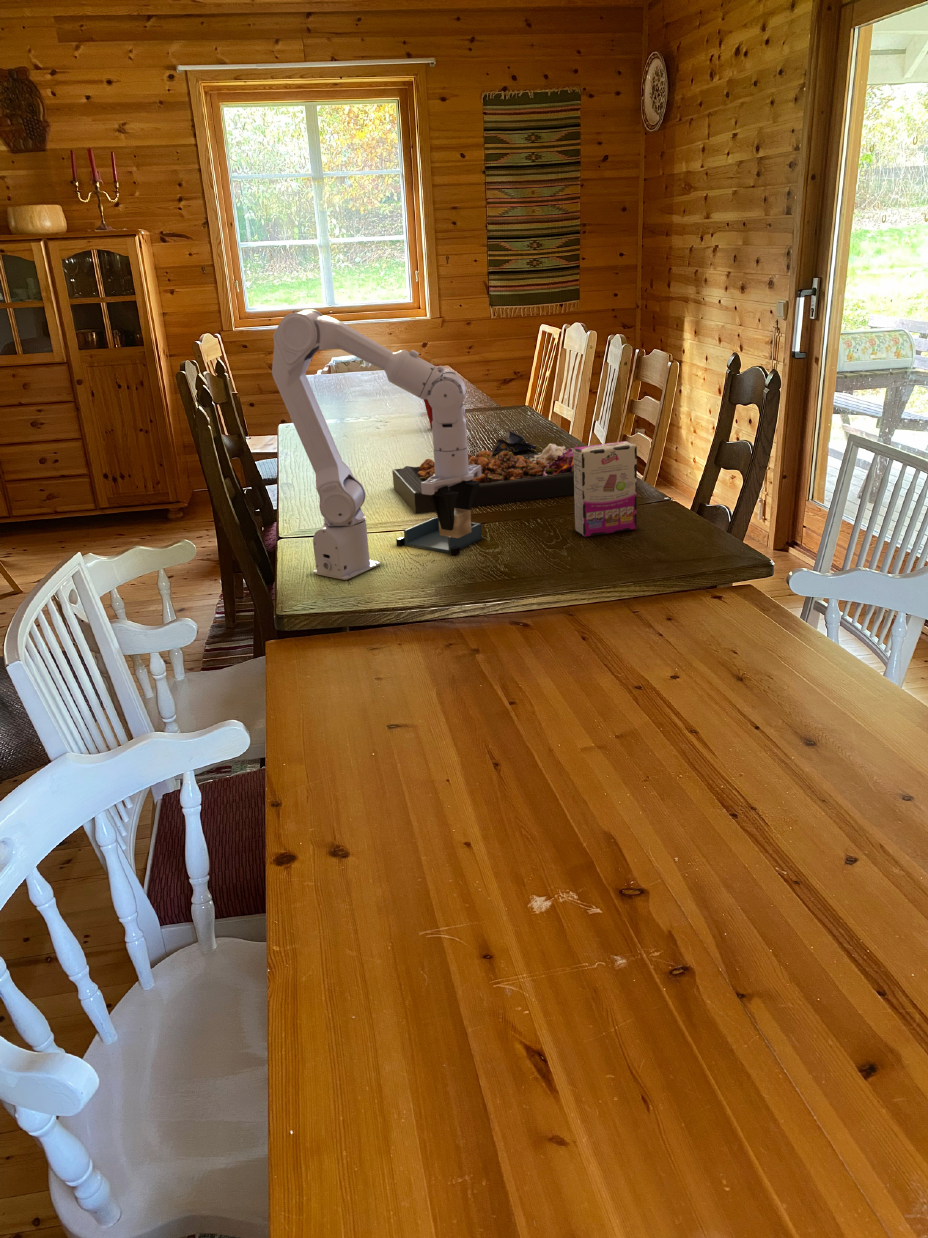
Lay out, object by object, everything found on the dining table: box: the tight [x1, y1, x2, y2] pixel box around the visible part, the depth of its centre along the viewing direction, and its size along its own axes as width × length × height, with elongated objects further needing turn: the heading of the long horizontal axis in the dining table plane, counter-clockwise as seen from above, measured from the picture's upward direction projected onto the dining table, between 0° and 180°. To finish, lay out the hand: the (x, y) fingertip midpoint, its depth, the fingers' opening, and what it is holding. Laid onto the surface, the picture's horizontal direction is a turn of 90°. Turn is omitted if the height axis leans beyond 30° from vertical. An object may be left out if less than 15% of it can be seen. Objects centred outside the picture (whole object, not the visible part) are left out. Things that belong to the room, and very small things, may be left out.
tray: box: [403, 516, 483, 554], centre depth 174 cm, size 10×11×6 cm
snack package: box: [490, 430, 537, 456], centre depth 246 cm, size 12×6×12 cm
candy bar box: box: [573, 440, 638, 538], centre depth 173 cm, size 11×5×16 cm, turn 106°
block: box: [439, 508, 472, 538], centre depth 158 cm, size 4×4×4 cm
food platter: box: [391, 443, 578, 515], centre depth 209 cm, size 45×25×10 cm, turn 105°
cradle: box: [395, 536, 461, 557], centre depth 171 cm, size 2×14×1 cm, turn 54°
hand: (454, 525), depth 159 cm, fingers closed on block, 4 cm apart
